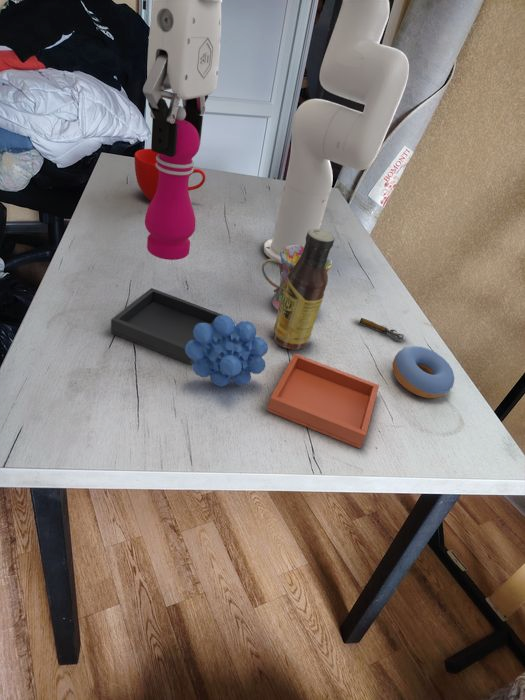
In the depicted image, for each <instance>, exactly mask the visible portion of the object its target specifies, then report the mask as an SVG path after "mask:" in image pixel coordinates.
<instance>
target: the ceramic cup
mask: <svg viewBox="0 0 525 700" xmlns="http://www.w3.org/2000/svg"><path fill="white" fill-rule="evenodd" d="M158 154H159V153H156V152H153V151H152V149H151V148H142V149H139V150H137V151H136V152H135V153H134V173H135V178H136V182H137V184H138V187H139V189H140V190H141V192H142V193H143V194H144V196H145V198H146V199H147V200H148V201H150V202H151V201H152V199H153V198H154V196H155V194H156V191H157V187H158V181H159V169H158V168H157V167H156V163H157V160H156V156H157V155H158ZM196 173H197V174H200V175H201V176H202V179H201V181H200V182H199V183H198V184H196V185H193V186H188V191H193V190H198V189H199V188H201V187H202V186H203V185H204V183H205V182H206V173H205V172H204V171H203V170H202V169H200V168H193V172H192V173H191V174H190V176H192V175H193V174H196Z"/></svg>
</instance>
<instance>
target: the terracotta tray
mask: <svg viewBox="0 0 525 700" xmlns="http://www.w3.org/2000/svg"><path fill="white" fill-rule="evenodd" d="M379 388H380V385H379V384H377V383H374V382H372V381H369V380H366V379H364V378H361V377H358V376H356V375H354V374H351V373H348V372H346V371H343V370H340V369H338V368H335V367H332V366H329V365H327V364H325V363H322V362H319V361H316V360H315V359H311V358H308V357H306V356H303V355H300V354H298V353H294V354H293V355H292V357H291V360H290V361H289V363H288V364H287V366H286V367H285V370H284V372H283V374H282V375H281V377H280V379H279V381H278V383H277V385H276V386H275V388H274V390H273V391H272V393H271V395H270V396H269V400H268V404H267V407H266V412H268V413H271V414H273V415H275V416H277V417H281V418H283V419H285V420H288V421H290V422H293V423H295V424H298V425H301V426H302V427H306V428H308V429H310V430H313V431H315V432H318V433H320V434H323V435H325V436H328V437H330V438H333V439H335V440H337V441H340V442H342V443H345V444H346V445H347V444H348V445H349V446H352V447H355V448H357V449H361V447H362V445H363V443H364V442H365V439H366V437H367V434H368V430H369V426H370V422H371V417H372V415H373V410H374V407H375V402H376V399H377V395H378V392H379Z"/></svg>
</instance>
